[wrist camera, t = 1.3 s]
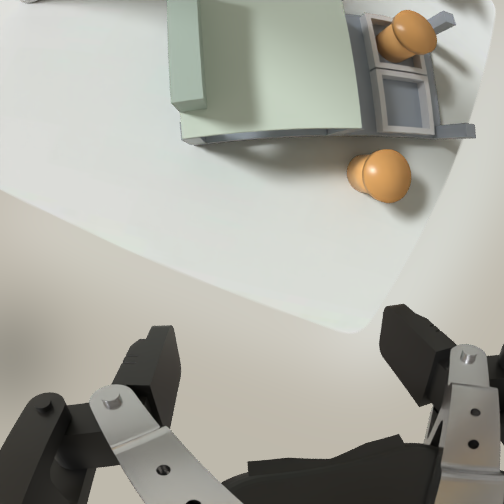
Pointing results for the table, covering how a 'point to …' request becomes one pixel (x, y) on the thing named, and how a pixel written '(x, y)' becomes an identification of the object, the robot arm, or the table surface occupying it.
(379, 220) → the table surface
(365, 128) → the housing
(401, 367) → the robot arm
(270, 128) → the lid
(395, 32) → the ball
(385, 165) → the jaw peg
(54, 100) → the table surface
